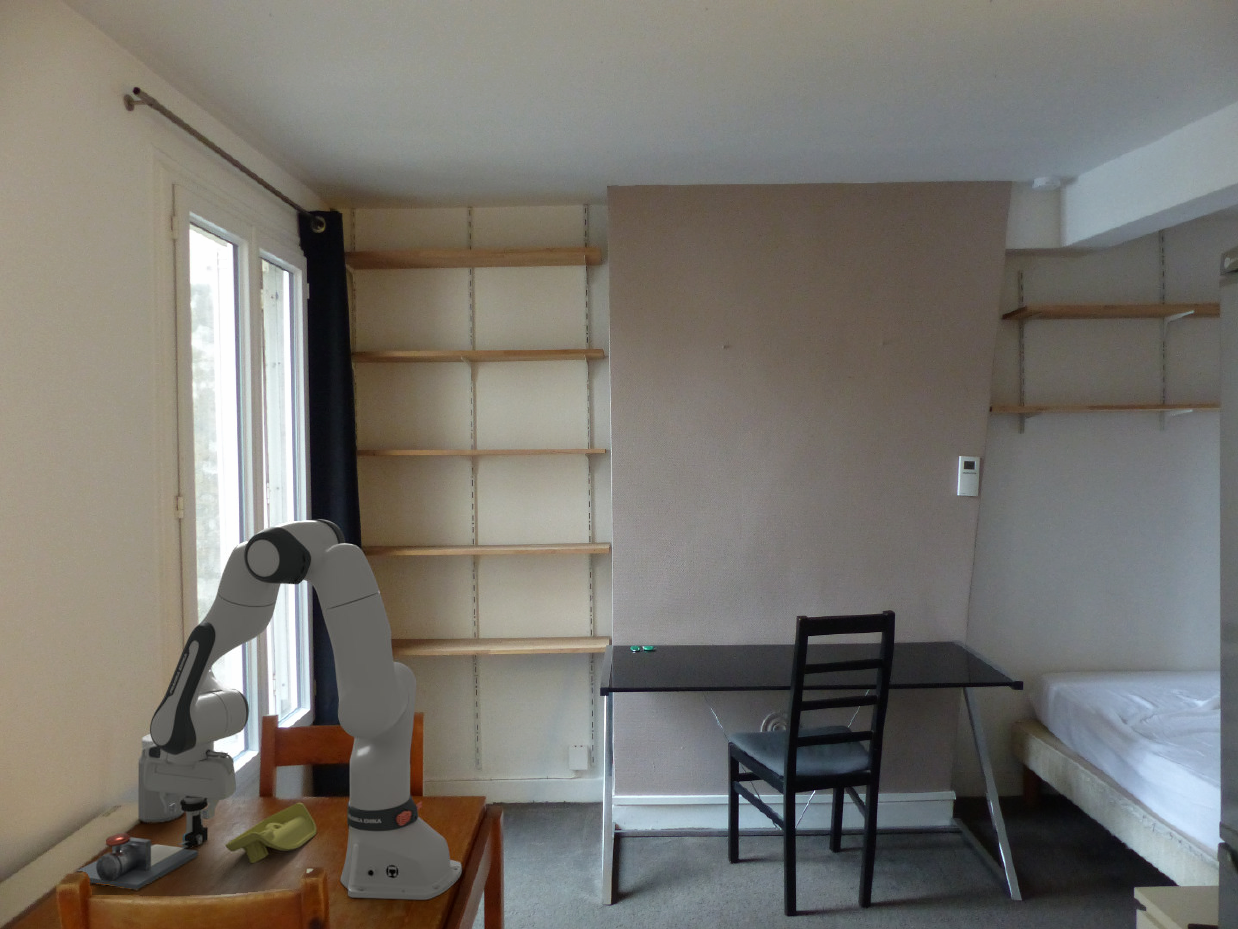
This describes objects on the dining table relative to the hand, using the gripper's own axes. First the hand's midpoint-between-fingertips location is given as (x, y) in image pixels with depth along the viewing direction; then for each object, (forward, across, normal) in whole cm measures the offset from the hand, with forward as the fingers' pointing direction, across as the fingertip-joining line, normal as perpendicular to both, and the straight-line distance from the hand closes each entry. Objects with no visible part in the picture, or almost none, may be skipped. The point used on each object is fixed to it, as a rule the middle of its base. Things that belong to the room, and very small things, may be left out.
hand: (189, 815), depth 178 cm
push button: (+6, 0, 0) cm, 6 cm away
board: (+6, +3, +11) cm, 13 cm away
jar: (+7, +17, -12) cm, 22 cm away
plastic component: (+6, -17, -3) cm, 19 cm away
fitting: (+6, +2, +15) cm, 17 cm away
